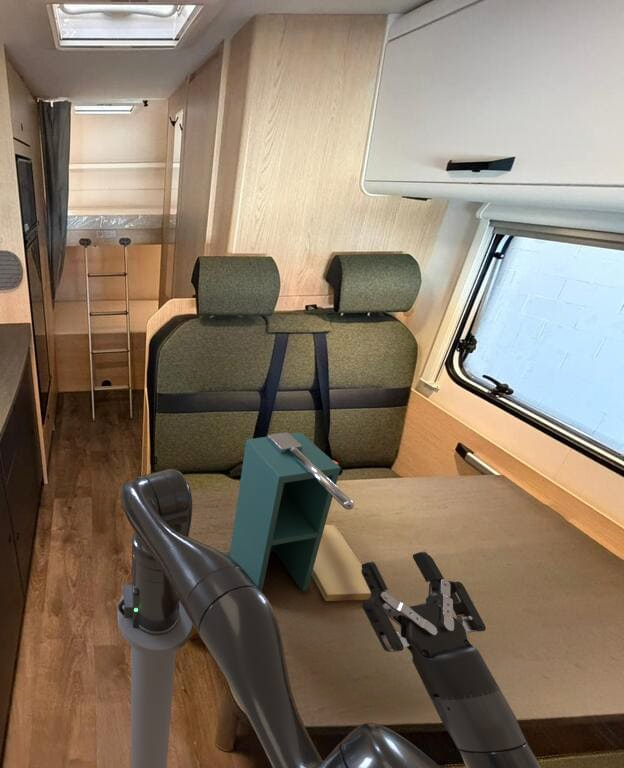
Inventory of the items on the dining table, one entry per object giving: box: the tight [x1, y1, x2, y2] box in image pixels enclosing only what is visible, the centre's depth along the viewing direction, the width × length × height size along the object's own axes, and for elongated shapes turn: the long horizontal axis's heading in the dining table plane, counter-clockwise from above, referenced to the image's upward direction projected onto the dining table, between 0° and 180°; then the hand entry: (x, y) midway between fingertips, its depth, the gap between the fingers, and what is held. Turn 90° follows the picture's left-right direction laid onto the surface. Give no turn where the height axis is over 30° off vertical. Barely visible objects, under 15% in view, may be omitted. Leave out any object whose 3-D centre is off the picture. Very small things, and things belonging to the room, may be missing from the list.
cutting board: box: [311, 524, 371, 602], centre depth 94 cm, size 11×19×2 cm, turn 1°
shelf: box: [229, 432, 341, 592], centre depth 86 cm, size 12×12×32 cm
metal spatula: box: [266, 431, 355, 511], centre depth 74 cm, size 21×4×2 cm, turn 11°
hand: (392, 557), depth 60 cm, fingers open, 8 cm apart
